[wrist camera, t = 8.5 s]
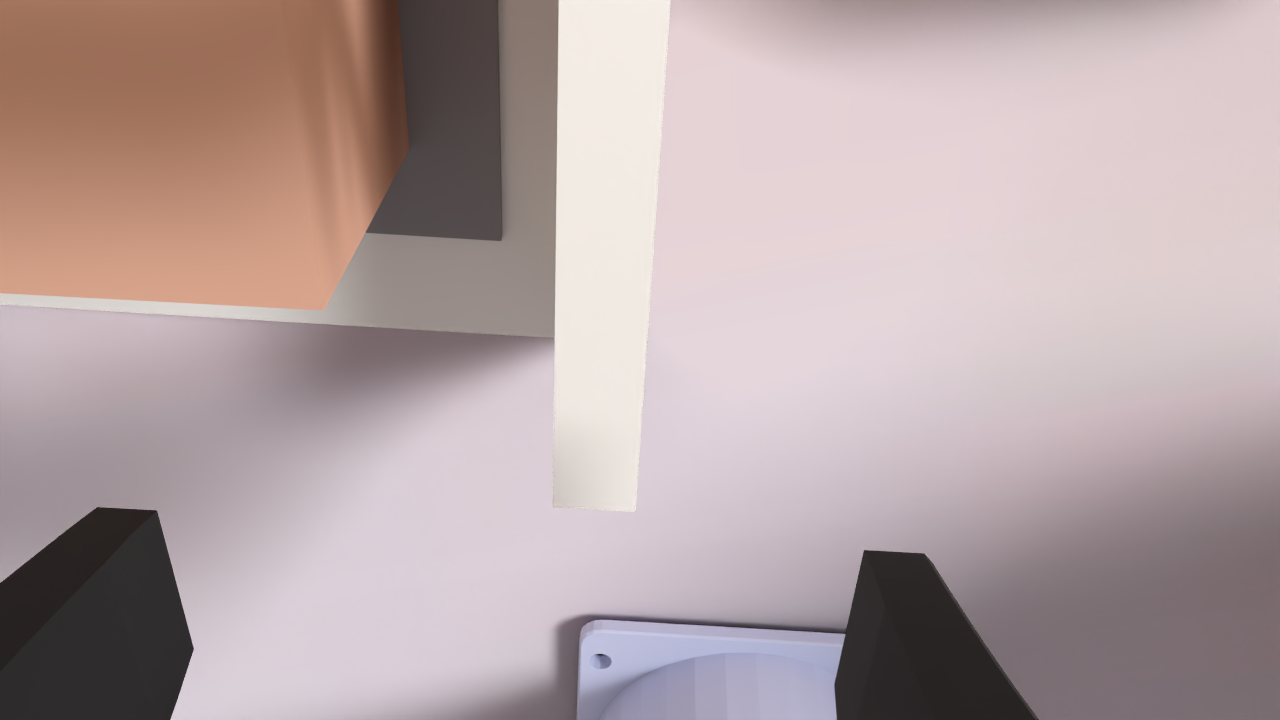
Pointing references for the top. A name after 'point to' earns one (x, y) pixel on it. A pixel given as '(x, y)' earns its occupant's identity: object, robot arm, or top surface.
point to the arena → (517, 211)
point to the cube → (195, 146)
